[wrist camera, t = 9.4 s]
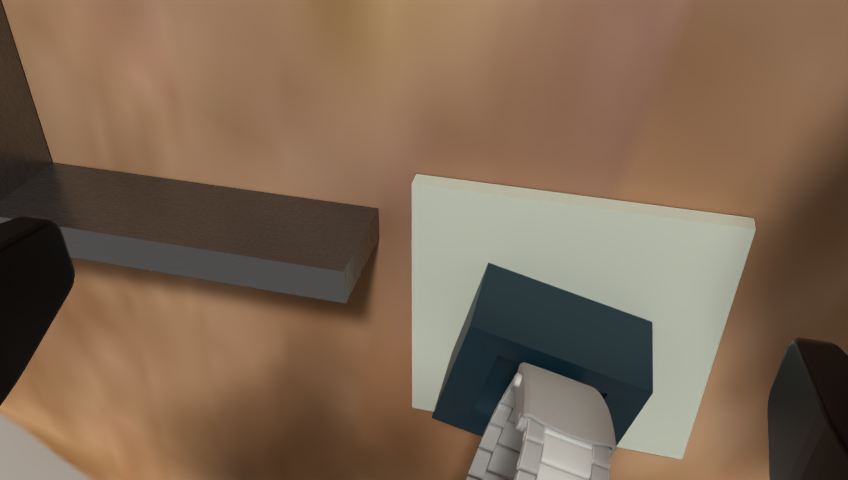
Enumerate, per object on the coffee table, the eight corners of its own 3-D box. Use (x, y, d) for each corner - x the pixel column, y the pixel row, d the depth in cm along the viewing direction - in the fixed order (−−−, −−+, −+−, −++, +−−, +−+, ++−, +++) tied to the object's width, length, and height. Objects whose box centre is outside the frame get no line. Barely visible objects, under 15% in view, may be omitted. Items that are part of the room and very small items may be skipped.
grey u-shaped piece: (363, -231, 17) (309, -221, 15) (379, 238, 25) (345, 303, 22) (-115, -243, 20) (-238, -236, 17) (32, 186, 28) (-36, 239, 25)
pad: (753, 218, 21) (756, 229, 21) (681, 446, 27) (682, 459, 27) (416, 173, 23) (411, 183, 23) (416, 396, 29) (412, 407, 29)
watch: (438, 387, 28) (340, 697, 19) (505, 219, 23) (417, 532, 14) (581, 440, 27) (550, 779, 19) (680, 282, 23) (701, 640, 14)
